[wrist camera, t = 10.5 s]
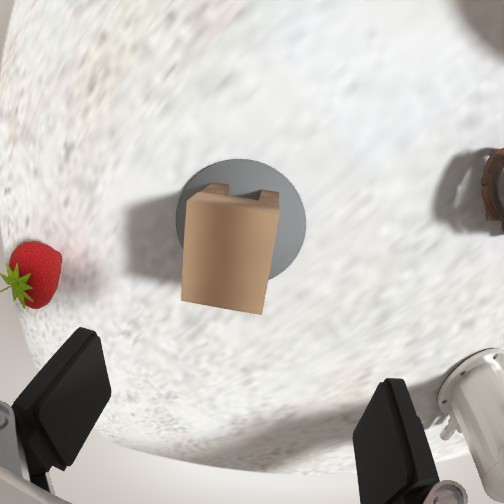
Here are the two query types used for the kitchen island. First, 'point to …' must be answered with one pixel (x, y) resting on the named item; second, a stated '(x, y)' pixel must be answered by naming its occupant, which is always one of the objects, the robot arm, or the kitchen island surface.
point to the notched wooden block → (228, 248)
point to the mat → (250, 187)
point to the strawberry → (33, 273)
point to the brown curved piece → (493, 186)
